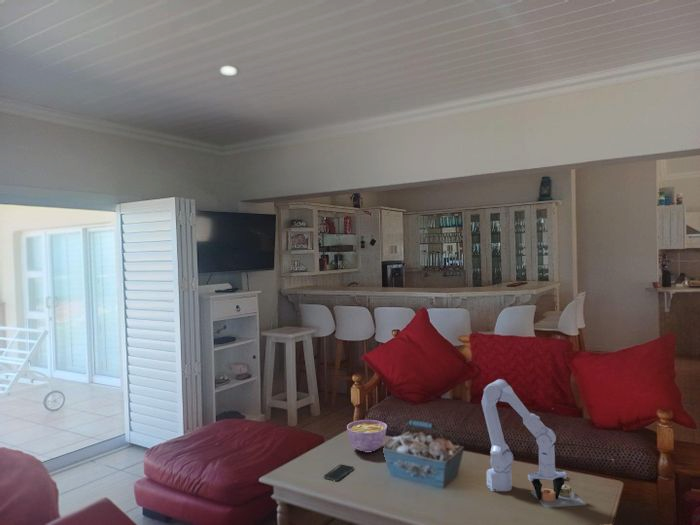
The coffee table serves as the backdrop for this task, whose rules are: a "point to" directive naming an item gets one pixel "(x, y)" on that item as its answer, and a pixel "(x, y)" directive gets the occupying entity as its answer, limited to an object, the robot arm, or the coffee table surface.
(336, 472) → the phone
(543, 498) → the gear
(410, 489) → the coffee table surface
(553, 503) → the gear board
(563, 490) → the gear
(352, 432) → the bowl of food
